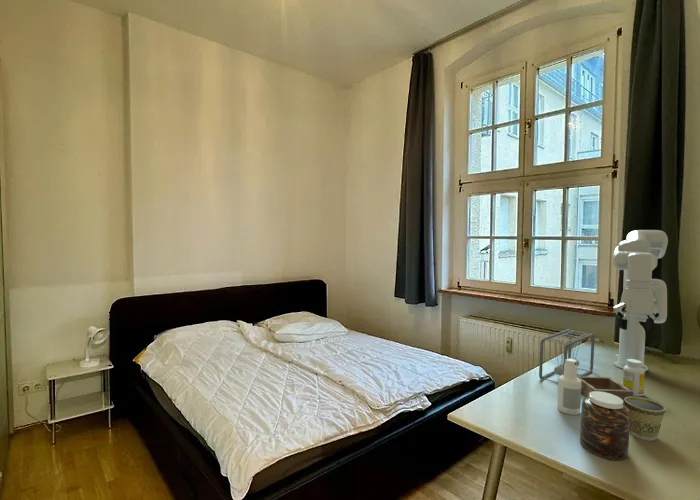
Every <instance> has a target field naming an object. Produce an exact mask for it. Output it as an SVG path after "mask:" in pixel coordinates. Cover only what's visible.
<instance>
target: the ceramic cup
mask: <svg viewBox="0 0 700 500" xmlns="http://www.w3.org/2000/svg"><path fill="white" fill-rule="evenodd" d="M624 404H625V405H624V406H626V407H627V408H628V409H629V412H630V432H629V434H631V436H633V437H635V438H637V439H639V440H644V441H650V442H651V441H655V440H658V436H659V433H660V429H661V426H662V422H663V420H664V417H665V413H666V407H665V405H663V404H662V403H660V402H659V401H655V400H653V399H650V398H646V397H642V396H631V397H626V398H624Z"/></svg>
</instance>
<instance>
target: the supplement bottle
mask: <svg viewBox="0 0 700 500" xmlns="http://www.w3.org/2000/svg"><path fill="white" fill-rule="evenodd" d="M641 366H642V362H641V361H639V360H635V359H627V365H626V366H624V369H622V371H623V373H622V374H623V375H622V376H623V377H622V385H623V386H625V387H626V388H628V389H630V390H631V391H633V397H642V396H644V395H645V378H646V377H645V375H646V374H645V373H646V371H644V369H643V368H641Z"/></svg>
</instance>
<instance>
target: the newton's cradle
mask: <svg viewBox="0 0 700 500" xmlns="http://www.w3.org/2000/svg"><path fill="white" fill-rule="evenodd" d="M573 332H574V333H576V336H575V337H573V335H574V333H573ZM577 333H580V335H579V334H577ZM567 335H568V336H567ZM595 337H596V336H595V334H594V333H592V332H591V333H587V332H583V331H577V330H572V329H571V328H567V329H565V330H562V331H560V332H559V331H558V332H556V333H554V334H551V335H548V336H546V337H543V338H541V340H540V344H539V346H540V347H539V368H538V369H539V371H538V372H539V374H538V377H539V379H540V380H541V379H543V380H546V381H549V382H551V383H555V384H558V385H559V381H555V380H551V379H548V378H549V377H551V376H552V375H555V374H556V375H558V376H563V375H564V365H565V359H569V358H570V359H574V360H576V361H577V364H576V365H577V370H582V371H585V372H584V373H581V374H580V375H579V376H585V377H587V376H588V375H590V374H591V373H592V372H593V370H594V357H595V356H594V355H595V341H596V339H595ZM560 338H561V340H560ZM562 338H563V339H562ZM588 338H591V345H590V362H589V363H590V365H589V369H584V368H580V367H579V365H580V361H579V359H577V355H578V351H579V347H580V344H581V342H582V341H585V340H587V339H588ZM556 339H557V340H558V341H556ZM564 339H565V340H566V339H568V340H566V341H565V340H564ZM545 341H548V342H552V343H554V345H555V347H557V345H556V344H559V345H563V355H562V353H560V355H561V361H560V364H559V363H557V365H556V366H555V367H554V368H553V371H551V372H549V373H548V372H547V373H546V374H545V375H543V362H544V361H543V360H544V342H545ZM561 341H562V342H561ZM578 343H579V344H578ZM577 344H578V347H577ZM574 345H575V347H574V350H573V346H574ZM576 348H577V351H576ZM559 349H560V352H562V351H561V350H562V348H561V347H559ZM575 351H576V354H575ZM555 352H556V354H558V353H557V352H558V350H557V349H555ZM574 355H575V356H574ZM558 358H559V357H558V356H556V359H557V361H559V359H558Z"/></svg>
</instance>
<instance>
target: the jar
mask: <svg viewBox="0 0 700 500" xmlns="http://www.w3.org/2000/svg"><path fill="white" fill-rule="evenodd" d="M580 413H581V414H580V430H579V431H580V432H579V433H580V434H579V436H580V437H579V442H580V445H581V446H582V448H583V449H585V450H586V451H588V452H590V453H591V454H593V455H595V456H597V457H600V458H603V459H607V460H611V461H624V460H627V458H628V457H629V450H630V449H629V448H630V447H629V446H630V445H629V444H630V412H629V409H628V408H627V407H626V406H625V405H623V400H622V399H621V398H619V397H618V396H615V395H613V394H610V393H606V392H600V391H593V392H590V393H589V397H584V398H583V399H582V402H581V409H580Z"/></svg>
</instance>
